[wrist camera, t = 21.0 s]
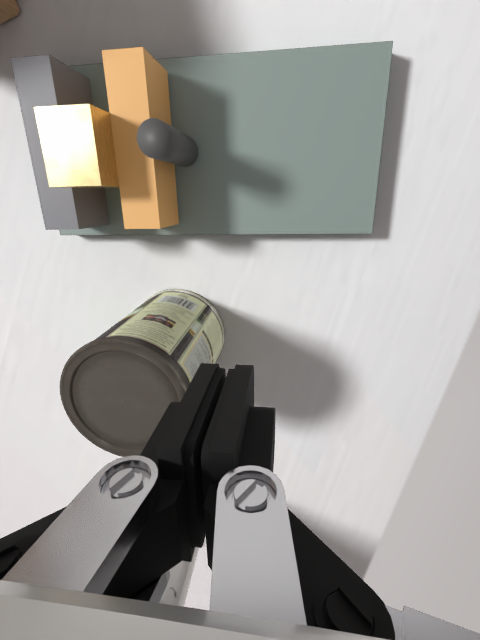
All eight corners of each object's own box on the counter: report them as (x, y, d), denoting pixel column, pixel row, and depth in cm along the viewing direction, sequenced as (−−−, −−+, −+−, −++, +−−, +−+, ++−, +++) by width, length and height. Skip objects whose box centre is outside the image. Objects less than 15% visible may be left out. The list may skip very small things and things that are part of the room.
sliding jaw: (204, 223, 32) (178, 231, 24) (148, 224, 32) (108, 232, 25) (196, 69, 28) (162, 25, 20) (132, 74, 28) (78, 32, 21)
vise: (367, 231, 32) (388, 240, 25) (72, 233, 36) (21, 241, 29) (386, 51, 27) (417, 3, 21) (43, 76, 31) (-25, 43, 25)
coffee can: (151, 378, 41) (86, 463, 28) (125, 296, 38) (38, 349, 25) (234, 368, 39) (206, 455, 26) (214, 281, 36) (170, 330, 23)
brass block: (145, 187, 32) (101, 185, 24) (105, 188, 32) (49, 186, 25) (139, 126, 30) (89, 103, 22) (96, 128, 30) (34, 107, 23)
